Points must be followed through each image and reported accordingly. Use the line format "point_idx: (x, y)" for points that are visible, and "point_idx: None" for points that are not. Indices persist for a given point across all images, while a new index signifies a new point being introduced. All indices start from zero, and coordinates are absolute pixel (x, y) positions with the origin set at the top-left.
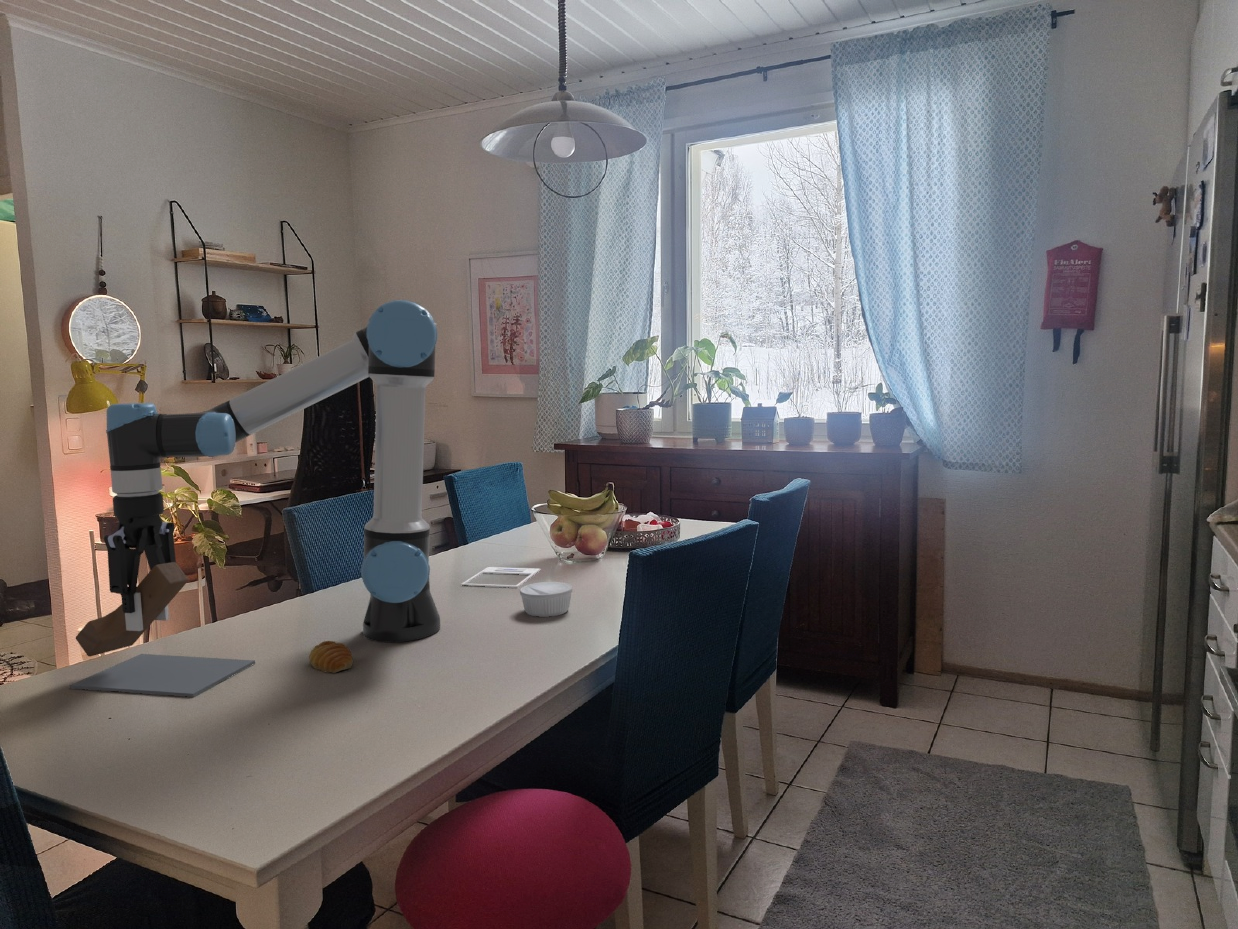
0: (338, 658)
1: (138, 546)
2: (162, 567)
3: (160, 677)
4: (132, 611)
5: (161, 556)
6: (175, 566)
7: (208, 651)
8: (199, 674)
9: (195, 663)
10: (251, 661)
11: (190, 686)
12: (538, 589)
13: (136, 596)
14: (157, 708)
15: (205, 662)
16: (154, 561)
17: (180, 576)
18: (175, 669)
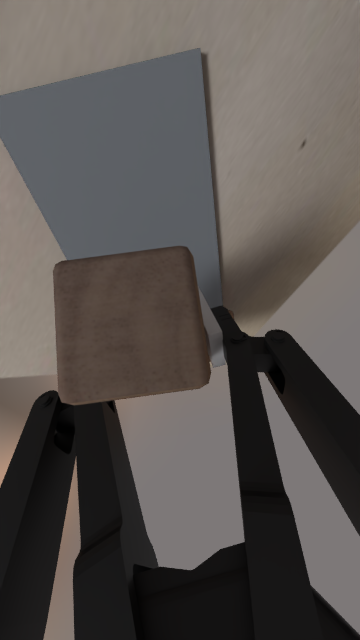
0: None
1: (301, 559)
2: (174, 359)
3: (161, 227)
4: (217, 308)
5: (90, 476)
6: (82, 362)
7: (33, 283)
8: (118, 163)
9: (87, 233)
10: None
11: (171, 108)
12: None
13: (219, 327)
14: (260, 86)
15: (73, 219)
16: (119, 457)
17: (94, 284)
18: (125, 238)
